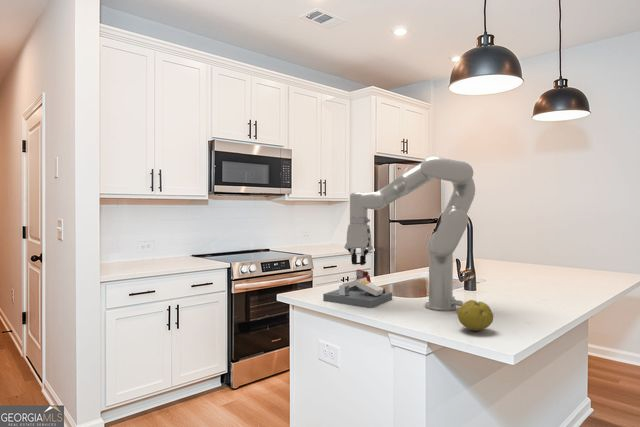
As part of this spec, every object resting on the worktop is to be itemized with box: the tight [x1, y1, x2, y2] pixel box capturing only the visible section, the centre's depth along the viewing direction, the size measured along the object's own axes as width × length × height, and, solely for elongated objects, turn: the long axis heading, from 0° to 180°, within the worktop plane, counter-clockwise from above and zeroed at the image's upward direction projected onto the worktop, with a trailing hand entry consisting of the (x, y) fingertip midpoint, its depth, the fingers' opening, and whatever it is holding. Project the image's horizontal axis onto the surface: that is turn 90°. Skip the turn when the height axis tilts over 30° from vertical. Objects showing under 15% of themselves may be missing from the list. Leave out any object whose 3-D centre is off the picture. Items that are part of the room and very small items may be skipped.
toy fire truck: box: [355, 269, 372, 289], centre depth 207 cm, size 7×12×10 cm, turn 24°
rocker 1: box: [341, 277, 367, 287], centre depth 196 cm, size 10×6×3 cm, turn 56°
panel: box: [322, 286, 393, 309], centre depth 188 cm, size 24×20×5 cm
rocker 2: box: [357, 280, 384, 296], centre depth 185 cm, size 10×6×3 cm, turn 56°
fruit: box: [456, 299, 494, 332], centre depth 142 cm, size 11×12×10 cm
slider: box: [338, 284, 349, 296], centre depth 184 cm, size 3×4×4 cm
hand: (358, 264), depth 180 cm, fingers open, 3 cm apart
